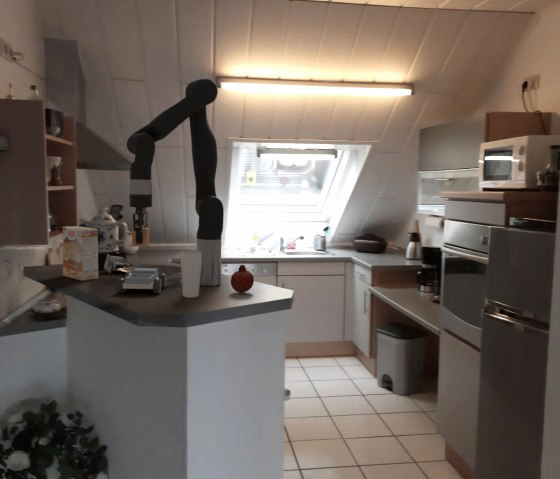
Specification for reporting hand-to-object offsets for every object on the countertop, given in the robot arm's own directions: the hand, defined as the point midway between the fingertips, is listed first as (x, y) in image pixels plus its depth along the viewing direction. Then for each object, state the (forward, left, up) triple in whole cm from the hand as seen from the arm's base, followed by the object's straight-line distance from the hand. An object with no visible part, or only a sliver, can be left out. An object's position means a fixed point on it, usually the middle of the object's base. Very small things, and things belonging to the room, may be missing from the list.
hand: (140, 242), depth 183 cm
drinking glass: (-18, +7, -17) cm, 26 cm away
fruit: (-35, 0, -17) cm, 39 cm away
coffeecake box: (+29, -26, -17) cm, 43 cm away
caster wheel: (+16, -40, -17) cm, 46 cm away
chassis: (0, -3, -17) cm, 17 cm away
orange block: (0, 0, -1) cm, 1 cm away
